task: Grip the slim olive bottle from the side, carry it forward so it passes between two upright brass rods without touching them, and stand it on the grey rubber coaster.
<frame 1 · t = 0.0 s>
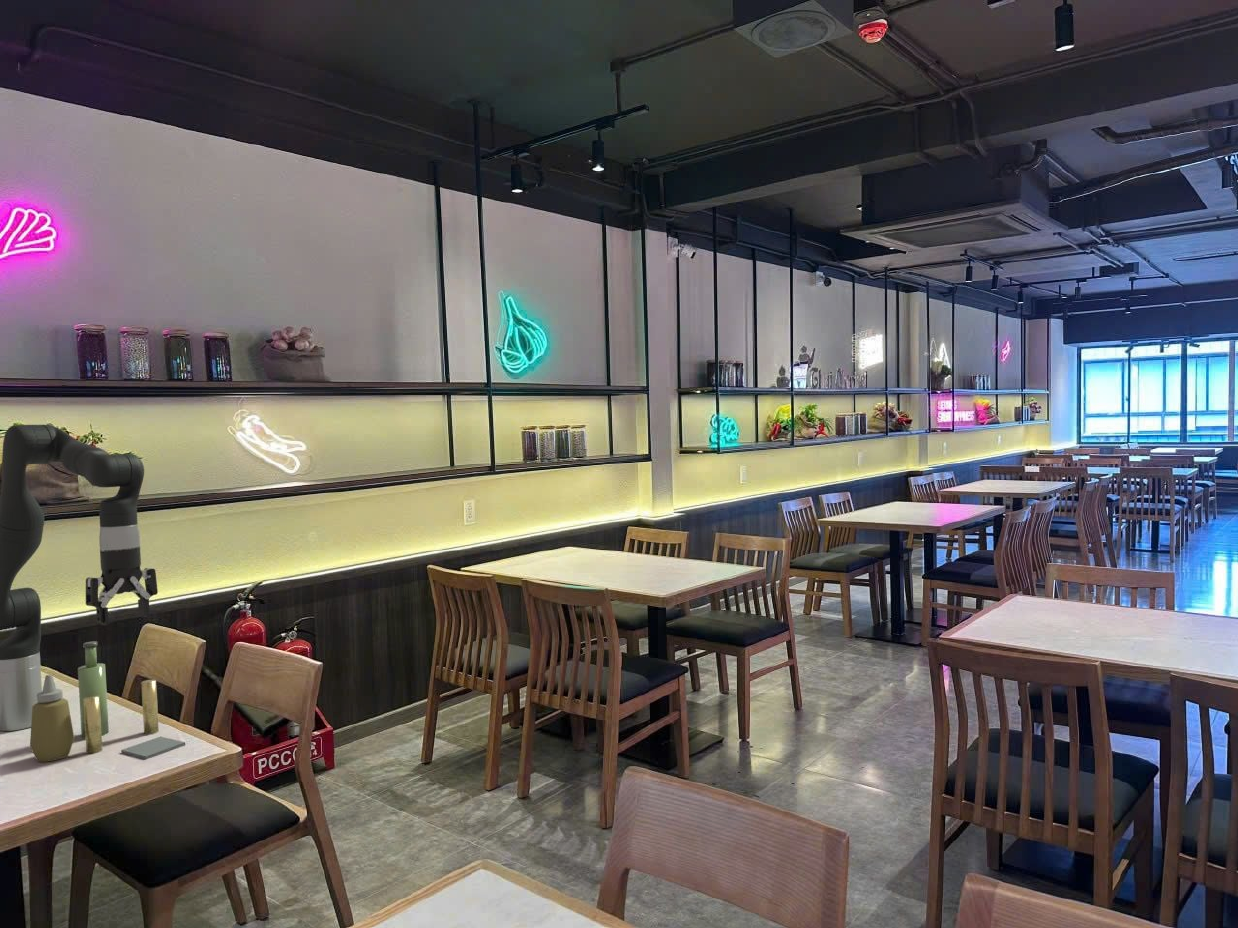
hand: (123, 620, 182), 29 cm above the table, tool pointing down, fingers open, 8 cm apart
grey coaster: (153, 748, 185), on the table
brass rod 2: (151, 731, 196), on the table
olive bottle: (95, 734, 196), on the table
squeeze bottle: (53, 758, 182), on the table
brass rod 1: (94, 751, 185), on the table
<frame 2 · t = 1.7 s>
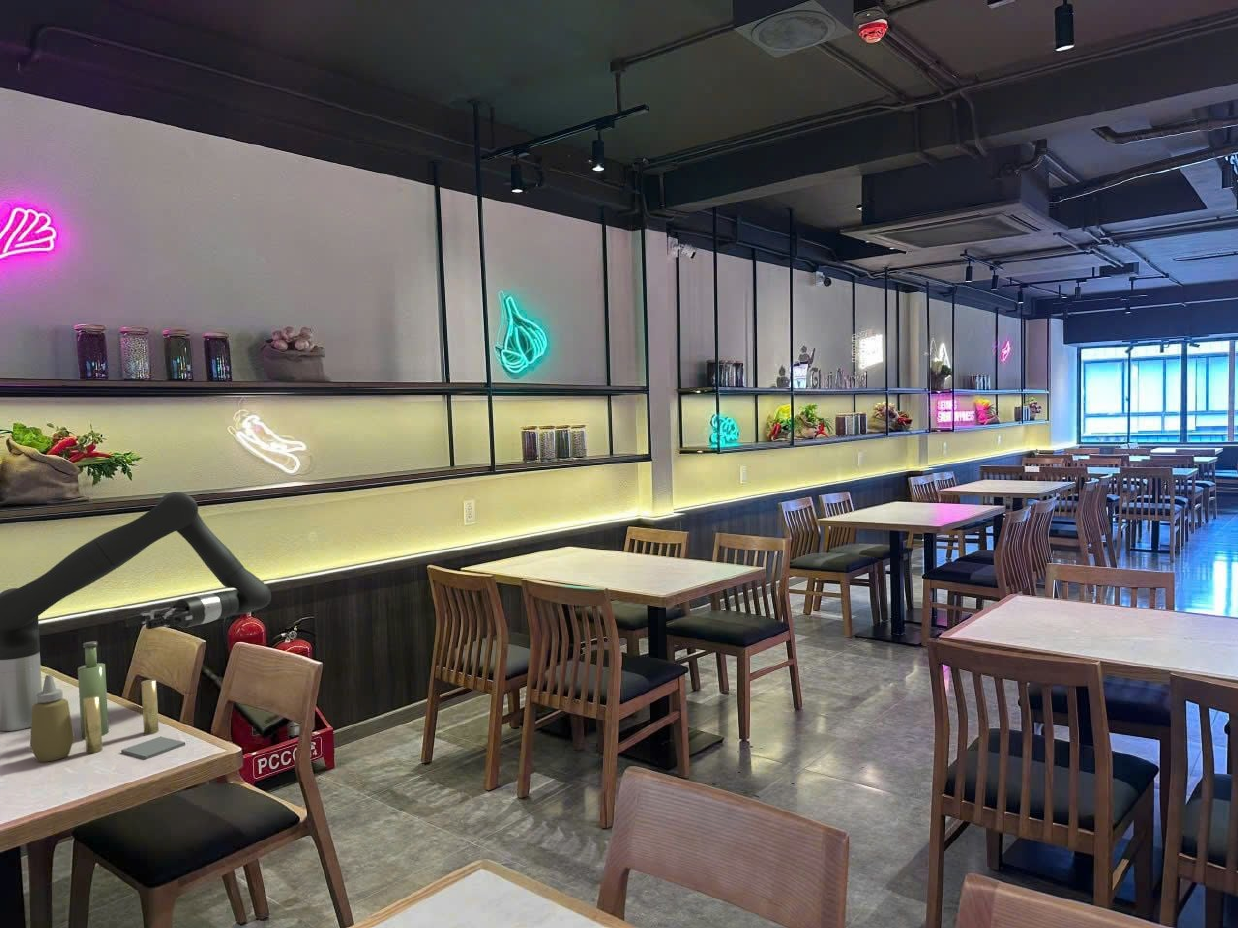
hand: (136, 623, 205), 24 cm above the table, tool horizontal, fingers open, 8 cm apart
nothing on the table moved.
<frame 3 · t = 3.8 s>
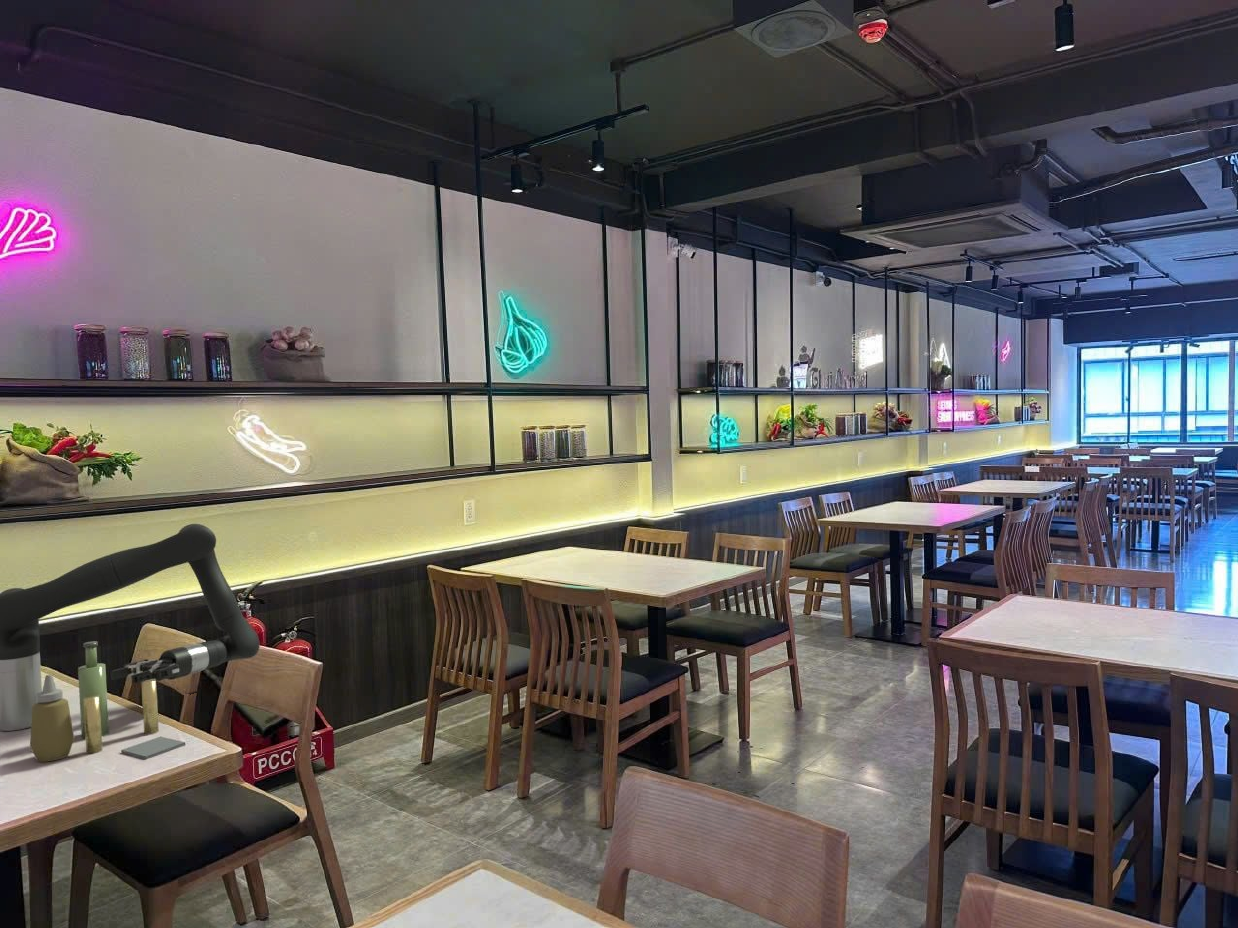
hand: (121, 677, 202), 11 cm above the table, tool horizontal, fingers open, 8 cm apart
nothing on the table moved.
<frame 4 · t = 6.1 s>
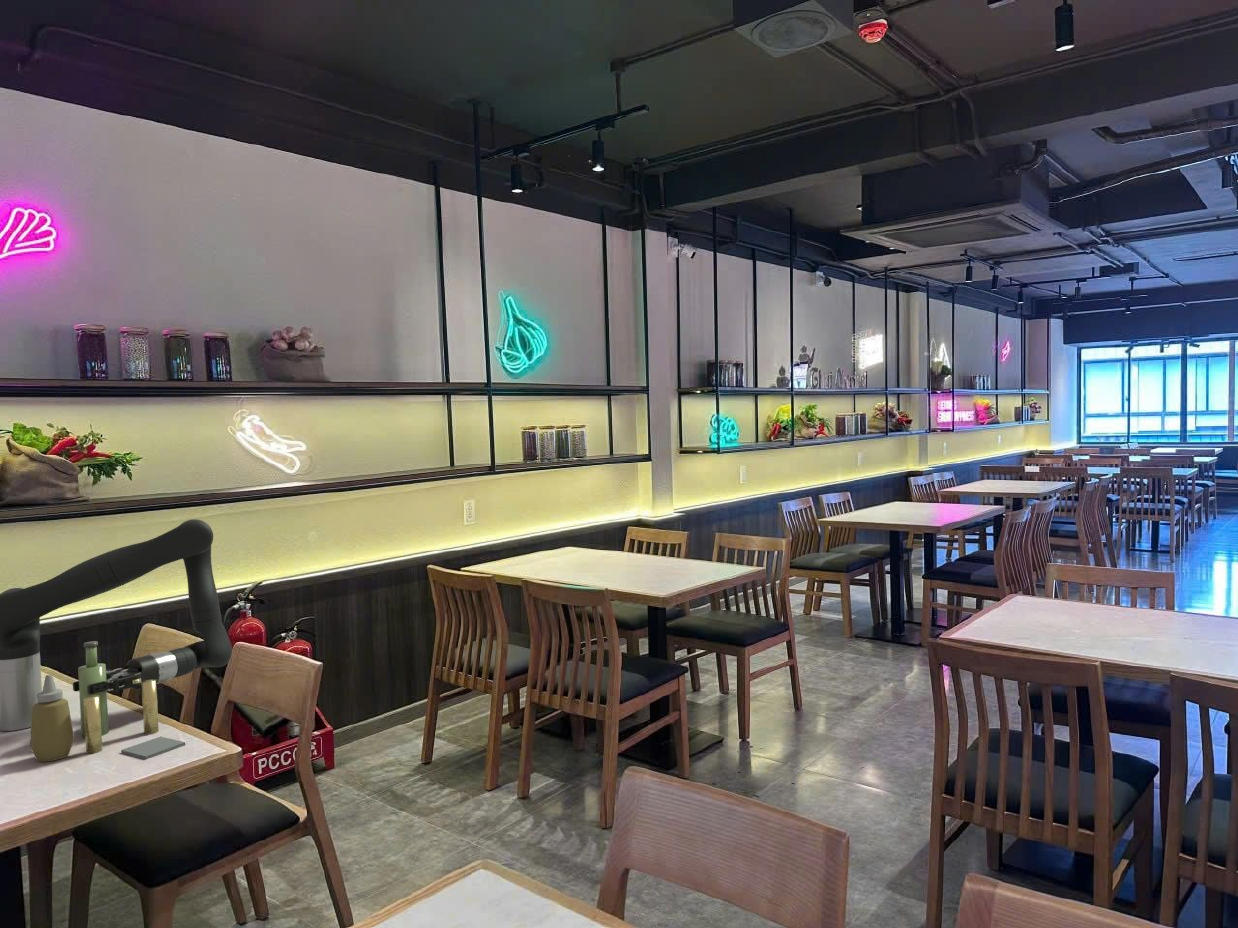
hand: (81, 688, 193), 12 cm above the table, tool horizontal, fingers closed on olive bottle, 5 cm apart
olive bottle: (95, 734, 196), on the table, touching gripper
everything else where it was.
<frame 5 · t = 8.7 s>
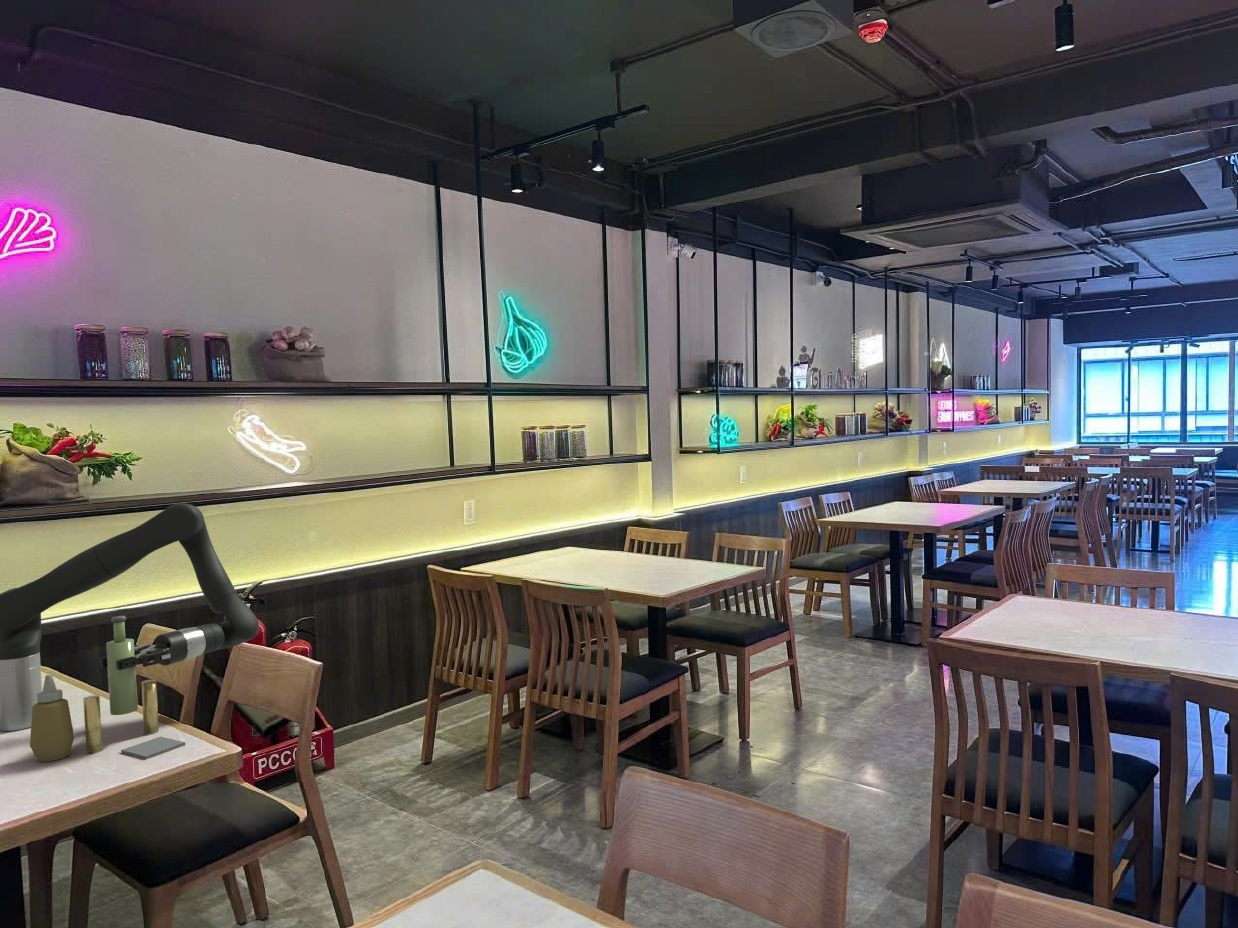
hand: (109, 664, 188), 18 cm above the table, tool horizontal, fingers closed on olive bottle, 5 cm apart
olive bottle: (124, 710, 191), point 7 cm above the table, touching gripper
everything else where it was.
when the fingers open (13 cm above the table, at t = 11.6 s): olive bottle stays where it is, resting on grey coaster.
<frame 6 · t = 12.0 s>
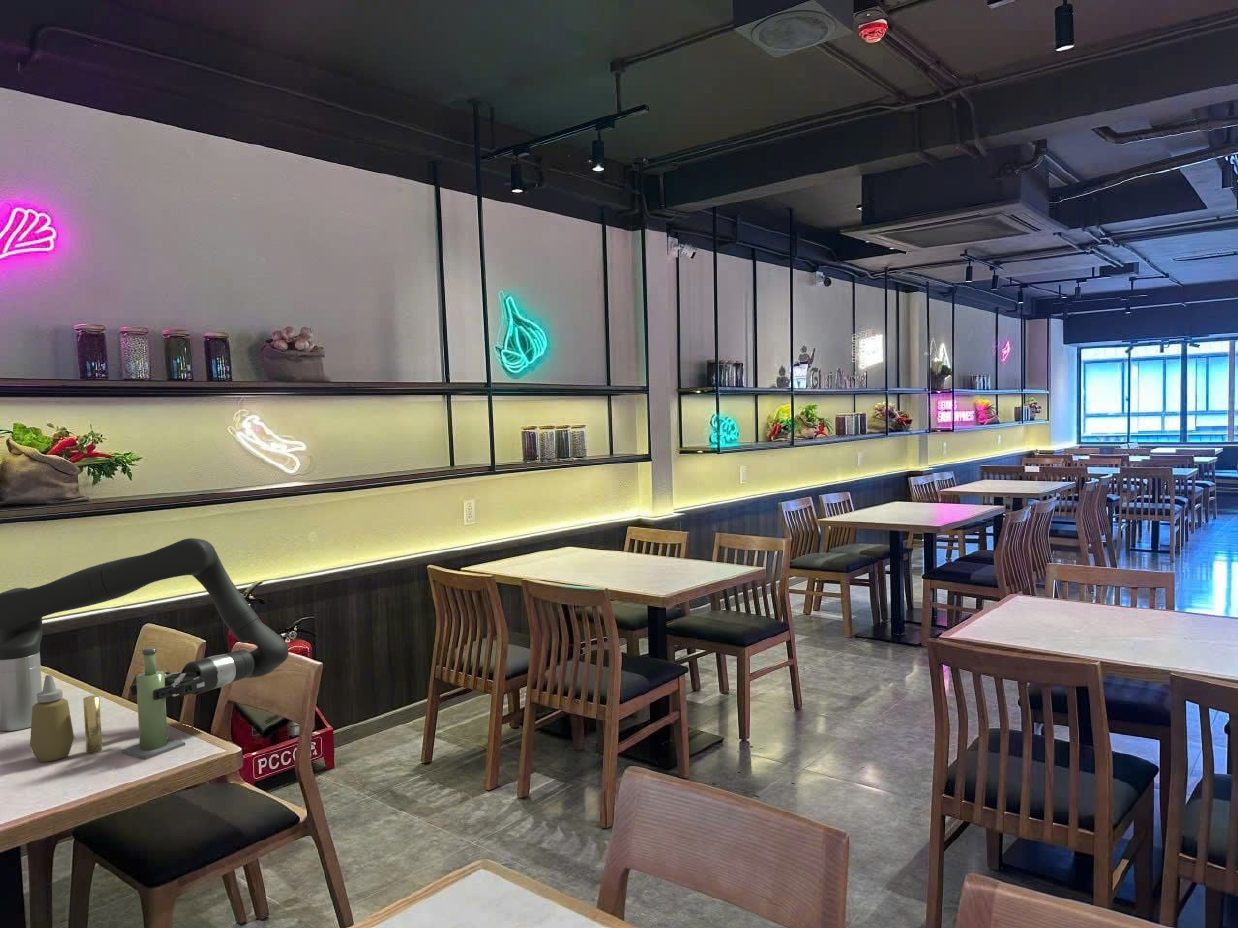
hand: (142, 693, 183), 13 cm above the table, tool horizontal, fingers open, 8 cm apart
olive bottle: (153, 745, 185), point 1 cm above the table, touching grey coaster
everything else where it was.
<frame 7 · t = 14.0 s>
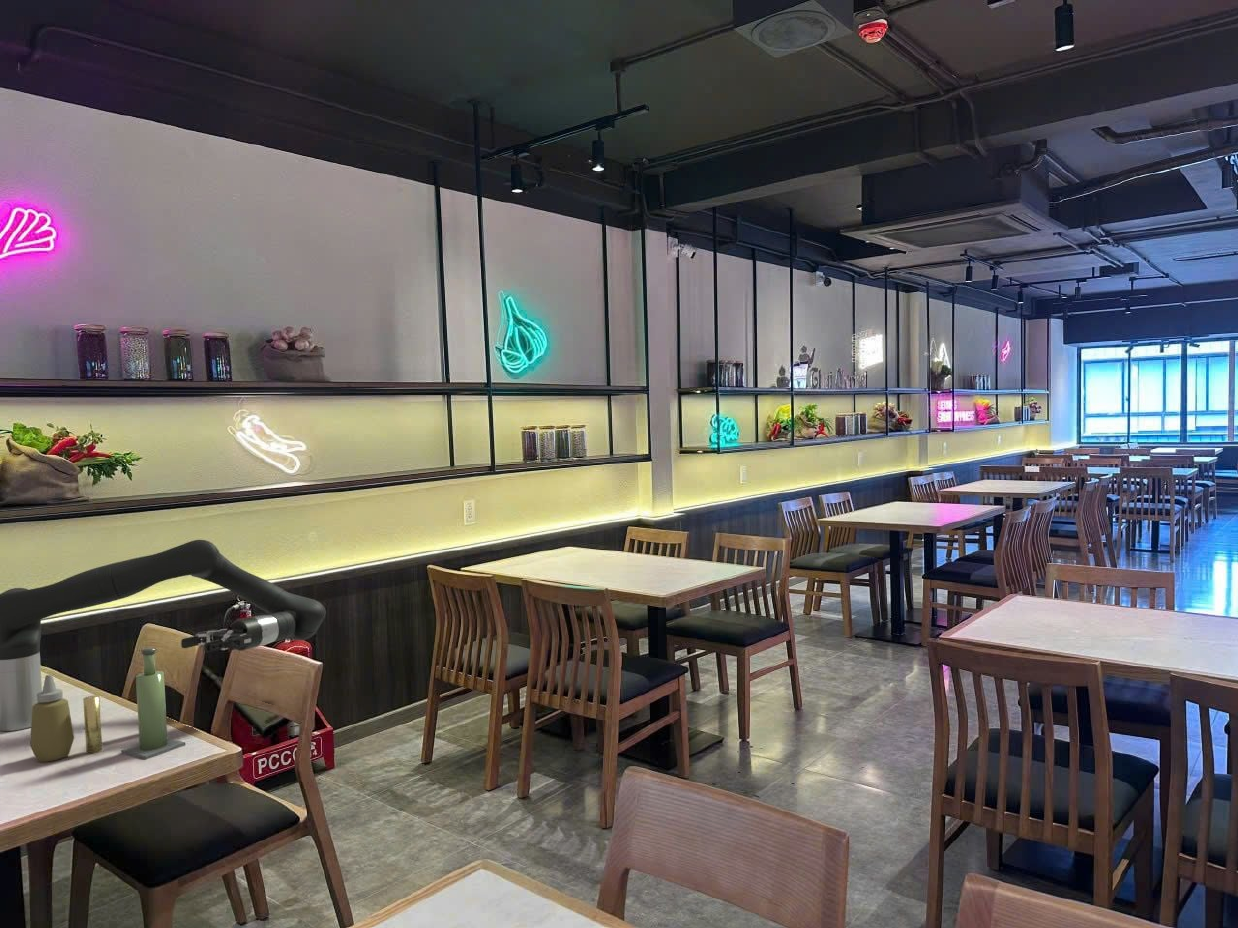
hand: (193, 645, 194), 20 cm above the table, tool horizontal, fingers open, 8 cm apart
nothing on the table moved.
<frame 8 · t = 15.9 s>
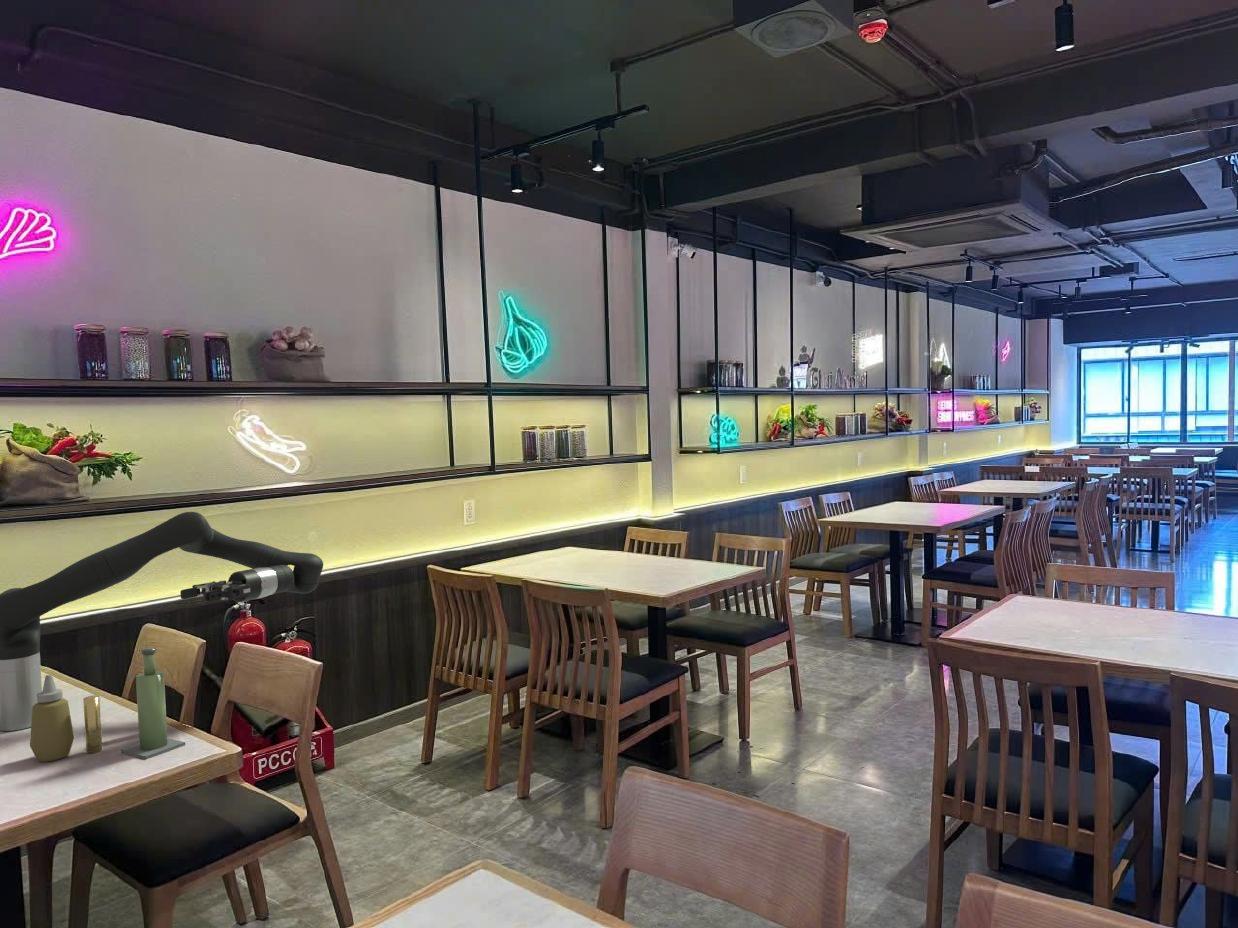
hand: (192, 595, 194), 32 cm above the table, tool horizontal, fingers open, 8 cm apart
nothing on the table moved.
at the end: olive bottle 0.2 cm from the grey coaster (horizontally); olive bottle tilted 0°; the gripper is holding nothing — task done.
